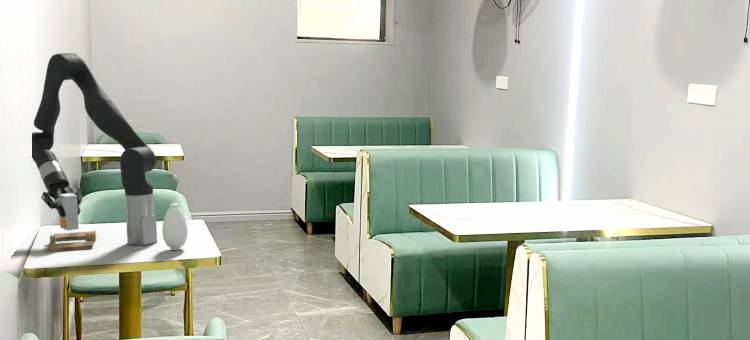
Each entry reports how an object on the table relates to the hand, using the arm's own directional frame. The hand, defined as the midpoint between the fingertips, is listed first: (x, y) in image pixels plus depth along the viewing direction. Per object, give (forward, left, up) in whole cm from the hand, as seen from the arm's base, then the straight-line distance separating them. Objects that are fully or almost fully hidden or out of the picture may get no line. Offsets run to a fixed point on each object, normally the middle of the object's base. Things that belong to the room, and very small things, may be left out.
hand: (71, 214), depth 255 cm
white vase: (-37, -12, -10) cm, 41 cm away
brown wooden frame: (+1, -1, -10) cm, 10 cm away
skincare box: (+2, 0, -5) cm, 6 cm away
